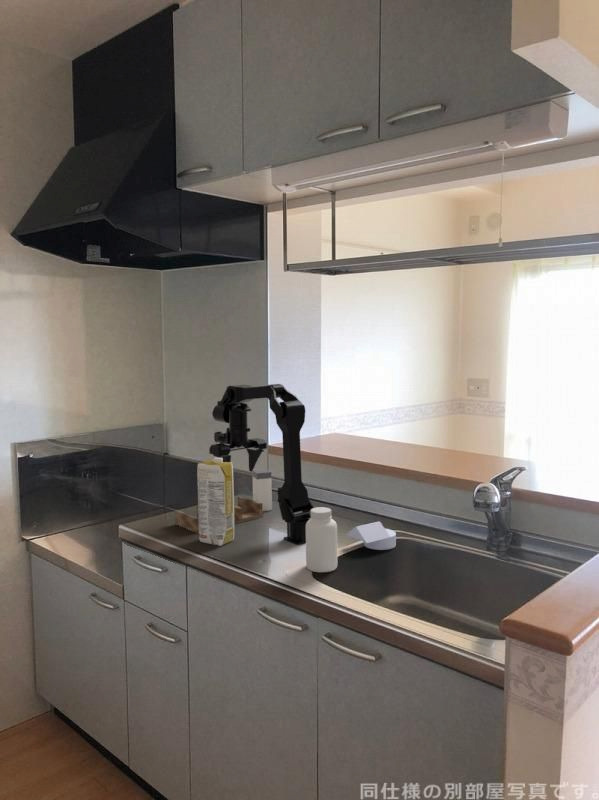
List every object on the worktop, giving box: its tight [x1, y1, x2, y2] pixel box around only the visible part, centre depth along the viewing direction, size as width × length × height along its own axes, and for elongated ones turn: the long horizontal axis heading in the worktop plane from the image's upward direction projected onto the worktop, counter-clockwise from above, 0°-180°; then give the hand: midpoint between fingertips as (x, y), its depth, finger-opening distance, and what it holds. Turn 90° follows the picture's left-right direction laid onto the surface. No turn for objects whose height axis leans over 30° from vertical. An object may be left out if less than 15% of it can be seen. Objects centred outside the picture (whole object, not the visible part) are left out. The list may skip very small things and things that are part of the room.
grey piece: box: [251, 468, 273, 513], centre depth 216 cm, size 5×5×13 cm
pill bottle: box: [305, 506, 338, 573], centre depth 163 cm, size 8×8×15 cm
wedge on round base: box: [345, 521, 397, 551], centre depth 179 cm, size 9×7×13 cm
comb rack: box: [174, 495, 264, 534], centre depth 204 cm, size 12×25×4 cm, turn 132°
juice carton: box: [196, 457, 235, 547], centre depth 183 cm, size 9×8×24 cm
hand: (239, 473), depth 205 cm, fingers open, 9 cm apart
